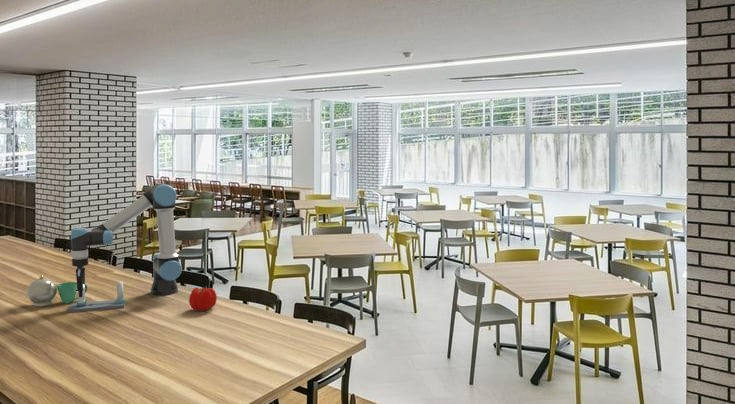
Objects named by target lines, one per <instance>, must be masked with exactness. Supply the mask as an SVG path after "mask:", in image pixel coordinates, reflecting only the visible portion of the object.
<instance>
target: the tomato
mask: <svg viewBox="0 0 735 404" xmlns="http://www.w3.org/2000/svg"><path fill="white" fill-rule="evenodd" d="M217 299H218V297H217V293H216V291H215V289H213V288H211V287H209V288H207V287H195V288H193V289H192V291H191V293H190V296H189V298H188V303H189V305H190V307H191V309H193V310H195V311H197V312H199V311H201V312H206V311H208V310H211V309H213V308H214V306H216V303H217Z"/></svg>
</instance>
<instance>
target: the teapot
mask: <svg viewBox="0 0 735 404" xmlns="http://www.w3.org/2000/svg"><path fill="white" fill-rule="evenodd" d="M57 292H58V288H57V285H56V283H55V282H54V281H53V280H51V279H50V278H45V276H44V275H43V274H41V275H40V276H39V277H38V278H37V279H35V280H33V281H32V282H31V283H30V284H29V285H28V287H27V290H26V294H27V298H28V299H29V300H30V301H31V302H32V306H33V307H35V308H46V307H49V306H51V305H53V300H54V299H55V297H56V295H57Z"/></svg>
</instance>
